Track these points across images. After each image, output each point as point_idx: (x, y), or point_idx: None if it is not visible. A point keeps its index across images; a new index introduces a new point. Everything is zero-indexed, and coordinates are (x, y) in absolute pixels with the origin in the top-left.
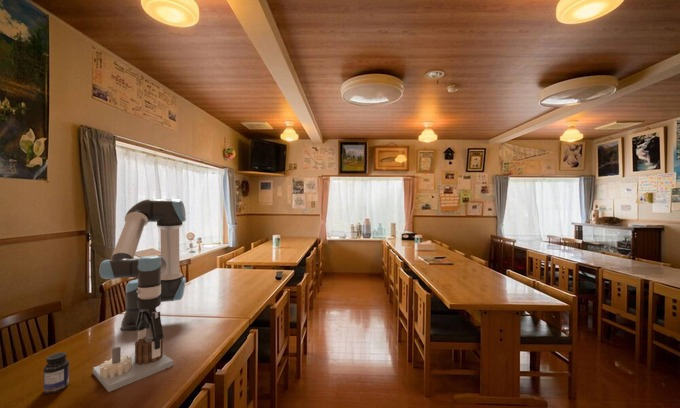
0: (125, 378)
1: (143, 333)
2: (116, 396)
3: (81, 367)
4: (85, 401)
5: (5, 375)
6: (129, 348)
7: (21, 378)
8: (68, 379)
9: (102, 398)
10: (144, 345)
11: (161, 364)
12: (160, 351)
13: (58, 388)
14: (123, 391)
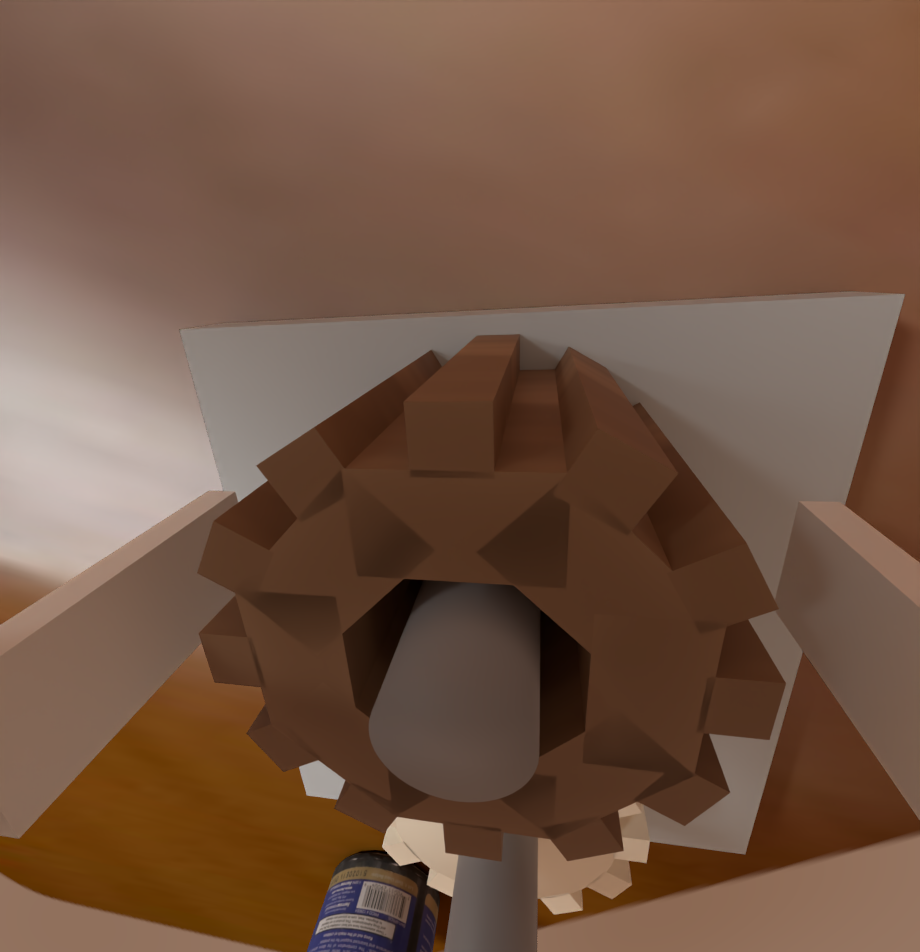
0: (749, 765)
1: (61, 680)
2: (854, 800)
3: (186, 756)
4: (703, 881)
5: (76, 904)
6: (6, 470)
7: (149, 895)
8: (394, 905)
9: (775, 839)
10: (622, 792)
11: (833, 460)
12: (895, 545)
13: (436, 916)
14: (833, 757)
